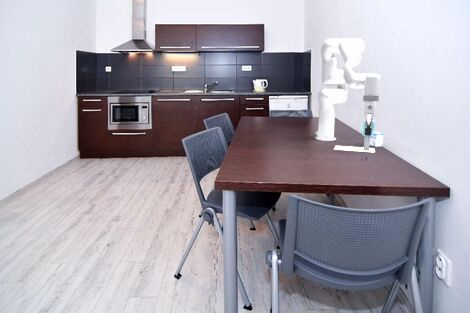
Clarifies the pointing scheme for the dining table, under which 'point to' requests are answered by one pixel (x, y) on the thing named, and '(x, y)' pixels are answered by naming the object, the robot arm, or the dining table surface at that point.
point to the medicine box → (376, 139)
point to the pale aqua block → (364, 129)
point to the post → (366, 142)
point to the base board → (354, 149)
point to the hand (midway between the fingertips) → (367, 134)
